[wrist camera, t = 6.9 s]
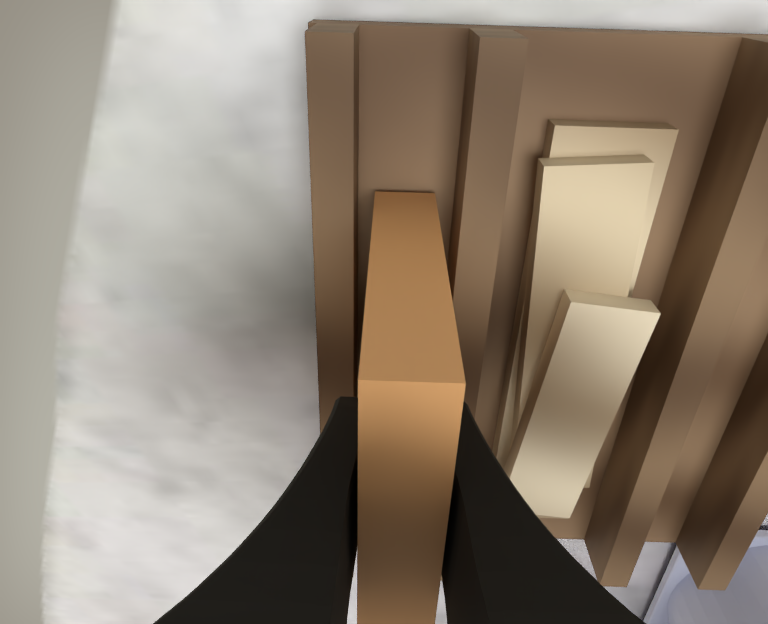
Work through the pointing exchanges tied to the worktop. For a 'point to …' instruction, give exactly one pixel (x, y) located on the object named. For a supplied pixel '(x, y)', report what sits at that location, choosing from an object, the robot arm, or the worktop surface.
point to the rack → (510, 237)
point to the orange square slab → (406, 413)
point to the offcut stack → (579, 304)
